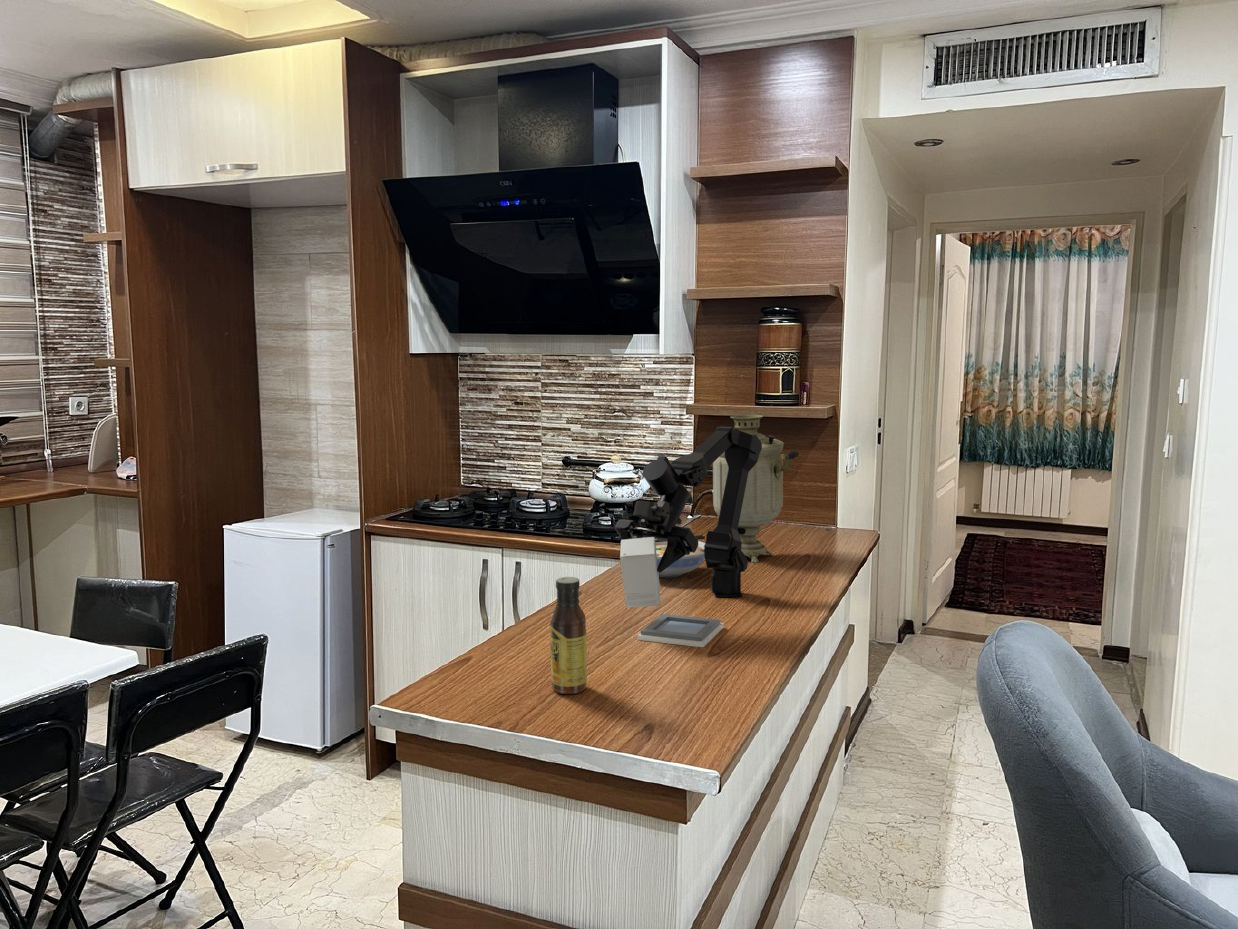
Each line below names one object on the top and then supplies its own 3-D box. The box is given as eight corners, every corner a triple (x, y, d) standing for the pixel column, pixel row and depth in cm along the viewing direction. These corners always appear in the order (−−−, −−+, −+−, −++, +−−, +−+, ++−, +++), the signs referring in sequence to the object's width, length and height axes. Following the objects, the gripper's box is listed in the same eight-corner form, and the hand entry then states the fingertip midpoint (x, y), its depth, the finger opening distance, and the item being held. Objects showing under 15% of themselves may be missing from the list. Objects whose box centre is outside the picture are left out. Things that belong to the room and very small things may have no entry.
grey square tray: (661, 621, 202) (661, 613, 202) (723, 627, 197) (723, 619, 196) (637, 639, 189) (637, 631, 189) (703, 647, 184) (703, 638, 184)
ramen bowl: (634, 589, 229) (634, 556, 228) (610, 568, 251) (610, 538, 250) (728, 581, 236) (728, 549, 235) (697, 561, 258) (697, 532, 257)
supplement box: (660, 606, 193) (655, 554, 188) (625, 608, 194) (618, 557, 189) (660, 586, 200) (655, 535, 195) (626, 589, 201) (620, 538, 195)
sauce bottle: (551, 683, 165) (548, 574, 162) (586, 682, 165) (584, 573, 163) (551, 697, 158) (549, 584, 156) (588, 696, 159) (586, 582, 156)
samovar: (826, 558, 259) (828, 415, 254) (756, 572, 244) (757, 420, 239) (753, 541, 283) (754, 410, 278) (686, 553, 269) (685, 415, 264)
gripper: (618, 482, 202) (587, 541, 195) (690, 489, 191) (660, 552, 183) (640, 512, 209) (611, 570, 202) (711, 521, 198) (682, 582, 191)
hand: (639, 568), depth 194 cm, fingers closed on supplement box, 9 cm apart
